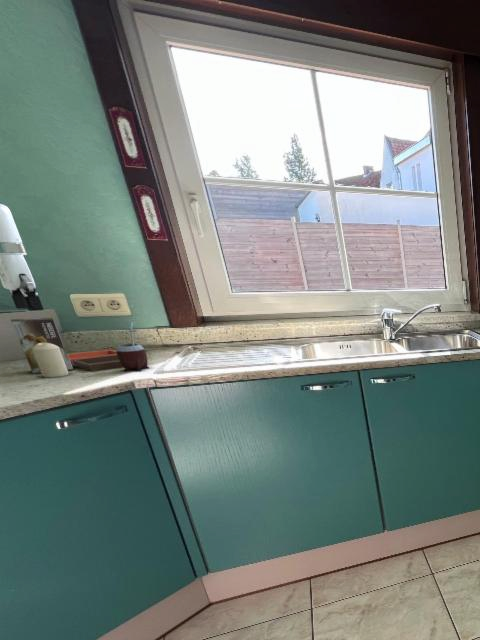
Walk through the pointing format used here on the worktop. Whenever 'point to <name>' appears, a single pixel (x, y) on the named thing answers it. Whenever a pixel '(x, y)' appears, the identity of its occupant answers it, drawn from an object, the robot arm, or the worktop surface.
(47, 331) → the coffee box
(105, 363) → the walnut tray
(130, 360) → the mate gourd
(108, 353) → the terracotta tray
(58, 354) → the candle
